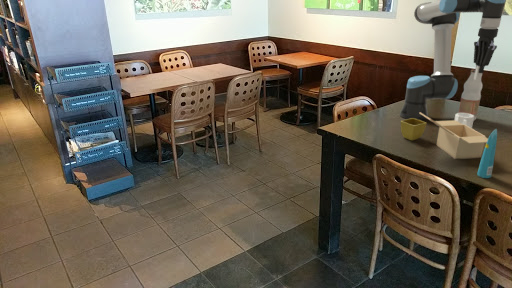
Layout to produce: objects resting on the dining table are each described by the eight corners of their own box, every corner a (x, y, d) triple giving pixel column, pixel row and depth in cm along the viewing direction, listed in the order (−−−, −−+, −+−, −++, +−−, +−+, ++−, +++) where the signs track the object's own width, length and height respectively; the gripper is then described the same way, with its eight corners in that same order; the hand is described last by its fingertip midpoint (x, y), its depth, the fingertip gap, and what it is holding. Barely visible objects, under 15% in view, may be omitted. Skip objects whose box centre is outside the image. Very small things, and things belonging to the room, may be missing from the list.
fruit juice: (460, 120, 213) (469, 71, 203) (455, 115, 222) (464, 68, 211) (478, 121, 212) (489, 71, 201) (472, 116, 220) (482, 68, 210)
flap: (441, 127, 174) (419, 113, 171) (442, 126, 174) (420, 112, 171) (453, 135, 165) (430, 120, 162) (454, 134, 165) (431, 119, 161)
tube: (479, 170, 155) (489, 127, 148) (492, 174, 152) (503, 129, 145) (474, 177, 150) (485, 132, 143) (488, 181, 147) (499, 135, 140)
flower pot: (411, 142, 185) (414, 125, 181) (398, 137, 192) (400, 120, 188) (424, 139, 188) (427, 122, 185) (410, 134, 196) (412, 117, 192)
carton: (430, 140, 187) (433, 121, 183) (453, 139, 187) (457, 120, 184) (463, 165, 161) (467, 142, 157) (489, 163, 161) (495, 141, 157)
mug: (451, 129, 201) (455, 112, 197) (469, 131, 197) (473, 113, 194) (453, 137, 190) (456, 118, 187) (472, 139, 187) (476, 120, 184)
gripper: (472, 26, 175) (461, 76, 184) (490, 29, 163) (478, 83, 172) (487, 26, 175) (476, 75, 185) (507, 29, 164) (493, 82, 173)
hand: (477, 79), depth 179 cm, fingers closed
